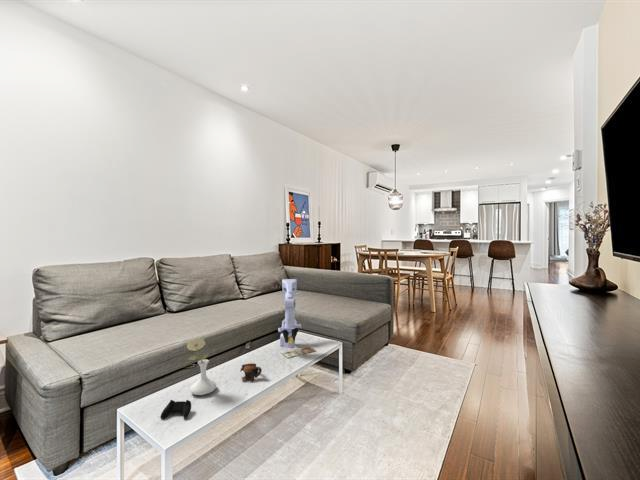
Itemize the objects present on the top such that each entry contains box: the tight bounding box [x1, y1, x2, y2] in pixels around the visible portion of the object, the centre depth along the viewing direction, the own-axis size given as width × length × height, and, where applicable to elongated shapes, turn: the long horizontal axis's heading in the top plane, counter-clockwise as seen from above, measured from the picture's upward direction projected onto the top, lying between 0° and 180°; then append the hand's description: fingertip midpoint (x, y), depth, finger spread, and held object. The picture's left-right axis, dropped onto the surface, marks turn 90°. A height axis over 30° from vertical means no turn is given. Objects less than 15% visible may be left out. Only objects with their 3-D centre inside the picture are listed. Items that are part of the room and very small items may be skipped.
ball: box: [288, 336, 293, 343], centre depth 180 cm, size 4×4×4 cm
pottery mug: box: [239, 362, 263, 382], centre depth 154 cm, size 12×10×8 cm
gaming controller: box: [160, 399, 192, 420], centre depth 122 cm, size 11×4×7 cm
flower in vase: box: [186, 337, 217, 396], centre depth 140 cm, size 13×11×25 cm
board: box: [280, 345, 317, 360], centre depth 184 cm, size 20×9×4 cm, turn 124°
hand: (289, 341), depth 180 cm, fingers closed on ball, 4 cm apart
